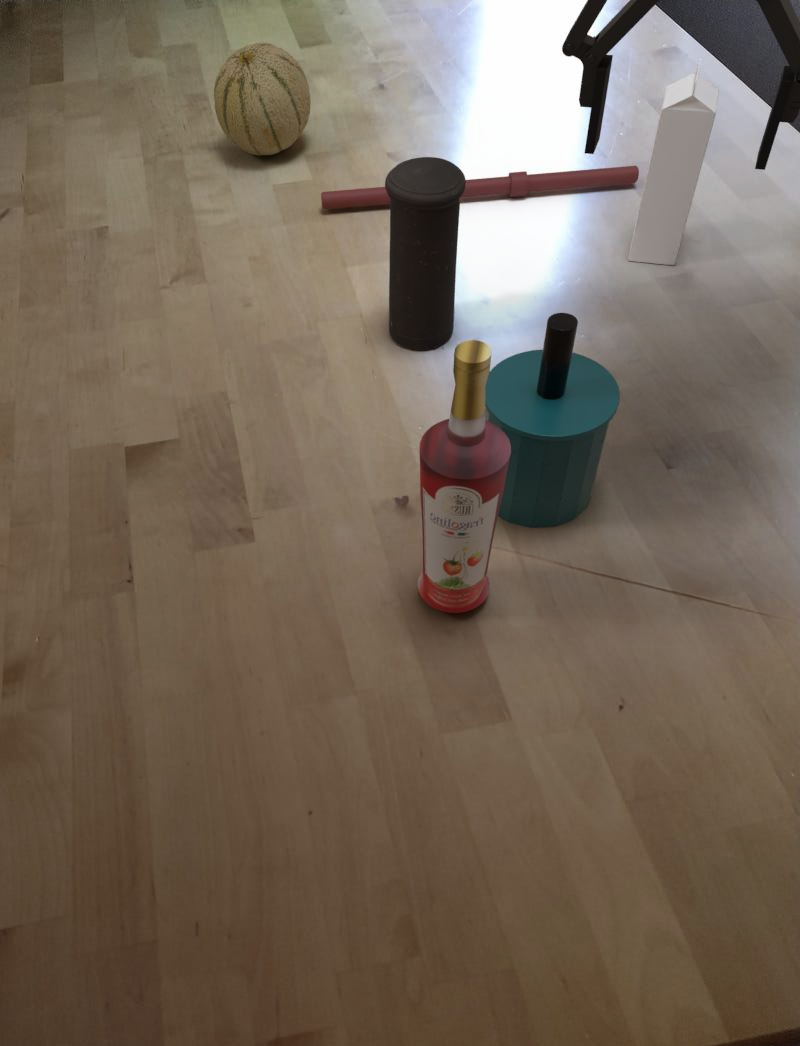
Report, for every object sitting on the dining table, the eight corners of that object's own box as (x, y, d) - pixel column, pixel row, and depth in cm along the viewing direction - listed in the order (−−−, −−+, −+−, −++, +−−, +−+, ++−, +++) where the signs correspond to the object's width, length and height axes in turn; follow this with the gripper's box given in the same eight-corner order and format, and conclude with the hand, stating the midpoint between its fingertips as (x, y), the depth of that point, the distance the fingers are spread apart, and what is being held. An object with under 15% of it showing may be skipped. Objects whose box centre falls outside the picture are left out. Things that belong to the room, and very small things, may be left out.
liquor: (494, 569, 89) (529, 325, 66) (486, 627, 85) (519, 388, 62) (421, 560, 90) (430, 317, 67) (409, 617, 86) (414, 379, 63)
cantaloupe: (321, 127, 145) (314, 22, 133) (304, 174, 137) (296, 66, 125) (233, 126, 148) (218, 23, 135) (211, 172, 139) (194, 66, 127)
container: (445, 304, 115) (454, 144, 99) (464, 346, 110) (476, 184, 93) (379, 315, 114) (377, 156, 98) (395, 358, 109) (395, 197, 93)
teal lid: (629, 372, 87) (649, 292, 80) (602, 458, 80) (622, 379, 73) (501, 349, 90) (510, 270, 83) (465, 430, 83) (472, 351, 76)
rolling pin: (631, 179, 129) (636, 157, 127) (636, 190, 128) (641, 168, 125) (321, 205, 131) (320, 184, 128) (322, 217, 129) (321, 195, 127)
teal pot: (600, 465, 96) (624, 369, 86) (576, 542, 90) (599, 448, 80) (495, 443, 99) (506, 348, 89) (465, 516, 93) (473, 422, 83)
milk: (627, 261, 118) (666, 79, 100) (632, 236, 121) (671, 56, 103) (675, 266, 116) (724, 82, 98) (679, 240, 120) (727, 58, 102)
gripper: (544, -165, 59) (515, 161, 76) (972, -167, 52) (834, 192, 69) (568, -198, 63) (536, 119, 80) (969, -204, 56) (839, 144, 73)
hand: (674, 153), depth 75 cm, fingers open, 13 cm apart
